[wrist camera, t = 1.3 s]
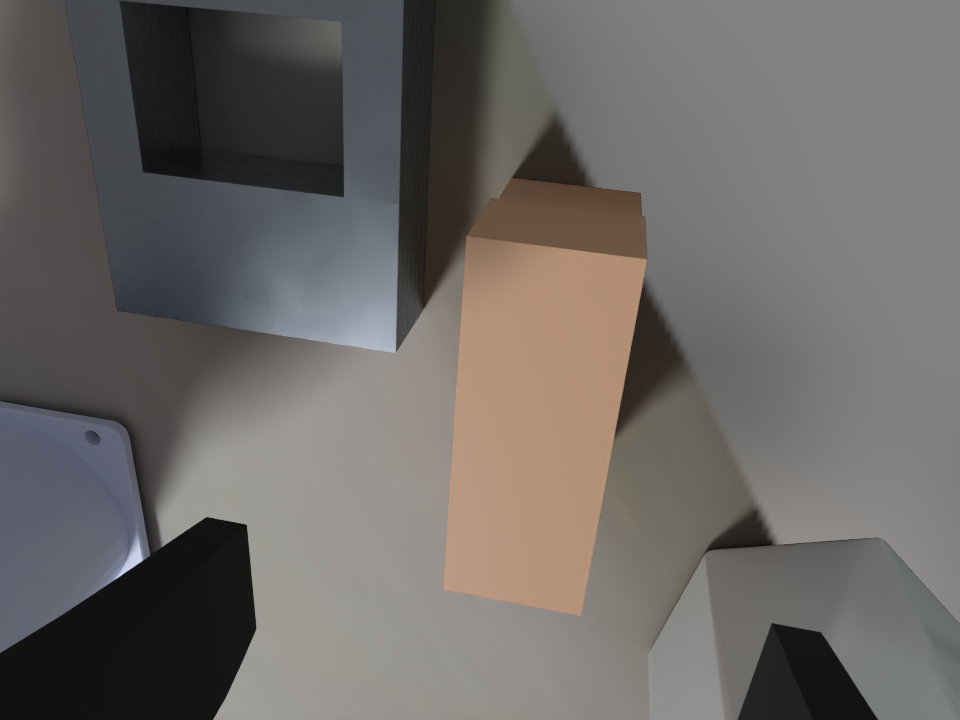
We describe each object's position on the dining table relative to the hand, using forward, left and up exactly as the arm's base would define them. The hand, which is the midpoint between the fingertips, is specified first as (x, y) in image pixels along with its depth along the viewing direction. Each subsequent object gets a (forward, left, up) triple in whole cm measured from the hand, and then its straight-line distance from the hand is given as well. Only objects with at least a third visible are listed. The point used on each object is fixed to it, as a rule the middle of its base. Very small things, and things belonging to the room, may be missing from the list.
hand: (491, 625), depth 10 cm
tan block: (0, 0, -10) cm, 10 cm away
